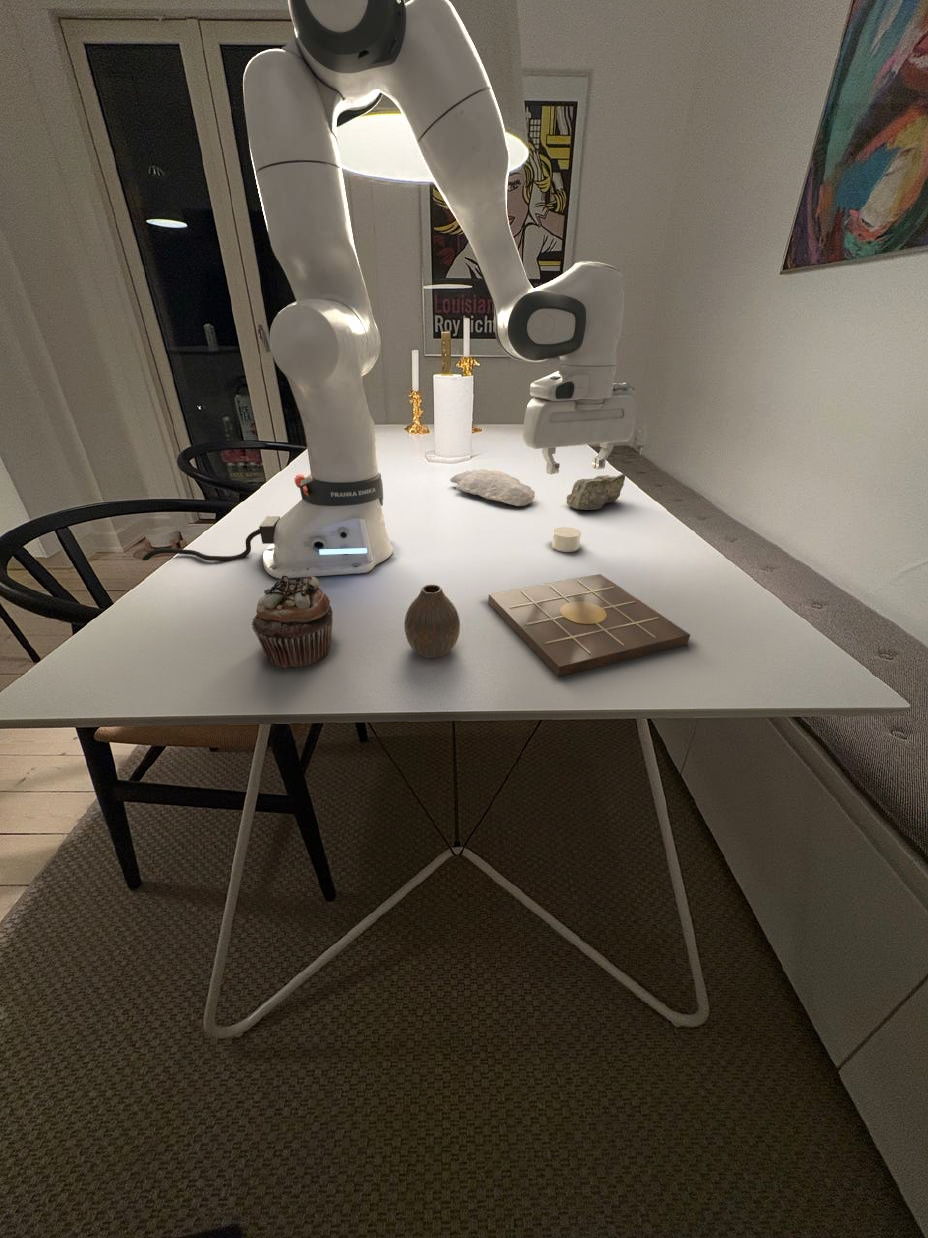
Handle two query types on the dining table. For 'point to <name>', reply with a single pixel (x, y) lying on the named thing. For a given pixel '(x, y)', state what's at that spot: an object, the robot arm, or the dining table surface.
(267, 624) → the cupcake
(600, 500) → the rock
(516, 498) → the stone
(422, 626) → the vase
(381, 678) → the dining table surface
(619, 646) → the board
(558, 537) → the game stone
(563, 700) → the dining table surface
